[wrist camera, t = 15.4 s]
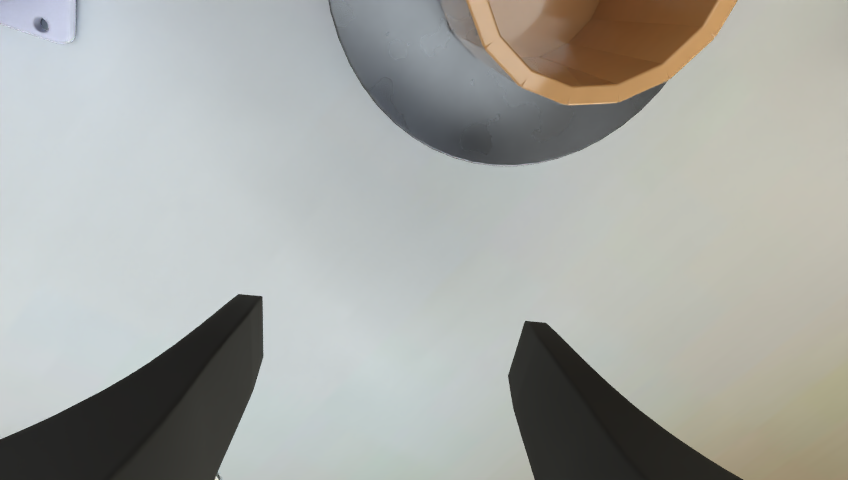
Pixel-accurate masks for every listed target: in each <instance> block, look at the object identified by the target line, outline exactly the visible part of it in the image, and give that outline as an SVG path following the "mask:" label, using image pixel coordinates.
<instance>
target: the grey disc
mask: <svg viewBox="0 0 848 480" xmlns="http://www.w3.org/2000/svg"><path fill="white" fill-rule="evenodd" d="M329 6H330V11H331V15H332V18H333V21H334V25H335V28H336V31H337V35H338V38H339V41H340V43H341V45H342V47H343V50H344V52H345V54H346V57H347V59H348V61H349V64H350V65H351V67H352V69H353V71H354V72H355V74H356V76H357V77H358V79H359V81H360V82H361V84H362V86H363V87H364V89H365V90H366V91H367V93H368V94H369V95H370V97H371V98H372V99H373V100H374V102H375V103H376V104H377V106H378V107H379V108H380V109H381V110H382V111H383V112H384V113H385V114H386V115H387V116H388V117H389V118H390V119H391V120H392V121H393V122H394V123H395V124H396V125H398V126H399V127H400V128H401V129H403V130H404V131H405V132H407V133H408V134H409V135H410V136H412V137H413V138H415V139H416V140H418V141H420V142H422V143H423V144H425V145H427V146H428V147H430V148H432V149H434V150H436V151H439V152H441V153H443V154H446V155H448V156H450V157H453V158H457V159H460V160H464V161H468V162H471V163H477V164H484V165H492V166H520V165H529V164H537V163H541V162H546V161H550V160H554V159H558V158H561V157H564V156H566V155H569V154H572V153H574V152H577V151H580V150H582V149H584V148H586V147H588V146H590V145H592V144H593V143H595V142H597V141H599V140H601V139H603V138H604V137H606V136H607V135H609V134H610V133H612V132H613V131H615V130H616V129H618V128H619V127H621V126H622V125H624V124H625V123H626V122H627V121H628V120H630V119H631V118H632V117H633V116H634V115H636V114H637V113H638V112H639V111H640V110H642V108H643V107H644V106H645V105H646V104H647V103H648V102H649V101H650V100H651V99H652V98H653V97H654V96H655V95H656V94H657V93H658V92H659V91H660V90H661V89H662V87H663V86H664V85H665V84H666V82H667V81H668V80H669V79H668V80H667V81H666V82H663V83H661V84H659V85H657V86H655V87H652V88H650V89H648V90H646V91H644V92H641V93H639V94H637V95H635V96H632V97H630V98H628V99H626V100H624V101H621V102H617V103H612V104H592V105H572V106H568V105H563V104H561V103H558V102H556V101H553V100H550V99H548V98H545V97H543V96H540V95H538V94H535V93H533V92H530V91H528V90H525V89H523V88H521V87H519V86H518V85H516V84H515V83H513V82H512V81H510V80H509V79H507V78H506V77H504V76H503V75H501V74H500V73H498V72H497V71H495V70H494V69H492V68H491V67H489V66H488V65H486V64H485V63H483V62H482V61H480V60H479V59H478V58H476V57H475V56H474V55H473V54H472V53H471V52H470V51H469V50H468V49H467V48H466V47H465V46H464V45H463V44H462V43H461V42H460V40H459V39H458V38H457V37H456V36H455V35H454V33H453V32H452V30H451V28H450V26H449V24H448V22H447V19H446V17H445V15H444V12H443V9H442V6H441V2H440V0H329Z"/></svg>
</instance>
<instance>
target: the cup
mask: <svg viewBox="0 0 848 480" xmlns="http://www.w3.org/2000/svg"><path fill="white" fill-rule="evenodd" d="M440 2H441V6H442V9H443V12H444V15H445V17H446V19H447V22H448V24H449V26H450V28H451V30H452V32H453V33H454V35H455V36H456V37H457V38H458V39H459V40H460V42H461V43H462V44H463V45H464V46H465V47H466V48H467V49H468V50H469V51H470V52H471V53H472V54H473V55H474V56H475V57H476V58H478V59H479V60H480V61H482V62H483V63H485V64H486V65H488V66H489V67H491V68H492V69H494V70H495V71H497V72H498V73H500V74H501V75H503V76H504V77H506V78H507V79H509V80H510V81H512V82H513V83H515V84H516V85H518V86H519V87H521V88H523V89H525V90H528V91H530V92H533V93H535V94H538V95H540V96H543V97H545V98H548V99H550V100H553V101H556V102H558V103H561V104H563V105H568V106H572V105H592V104H612V103H617V102H621V101H624V100H626V99H628V98H630V97H632V96H635V95H637V94H639V93H641V92H644V91H646V90H648V89H650V88H652V87H655V86H657V85H659V84H661V83H663V82H666V81H667V80H668V79H670V78H672V77H673V76H674V75H675V74H676V73H677V72H678V71H679V70H681V69H682V68H683V67H684V66H685V65H686V64H687V63H688V62H689V61H690V60H691V59H693V58H694V57H695V56H696V55H697V54H698V53H699V52H700V51H701V50H702V49H703V48H705V47H706V46H707V45H708V44H709V43H710V42H711V41H712V40H713V39H714V37H715V36H716V35H717V34H718V32H719V31H720V29H721V27H722V26H723V24H724V22H725V21H726V19H727V17H728V16H729V14H730V12H731V11H732V9H733V7H734V6H735V4H736V2H737V0H440Z"/></svg>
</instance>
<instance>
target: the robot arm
mask: <svg viewBox="0 0 848 480" xmlns="http://www.w3.org/2000/svg"><path fill="white" fill-rule="evenodd" d="M41 18H43V19H44V20H45V21H46V22H47V23H48V27H49V28H48V31H46V30H45V29H44V28H43V27H42V26H41V22H40V21H41ZM0 24H1V25H4V26H7V27H10V28H13V29H16V30H19V31H22V32H25V33H28V34H31V35H34V36H37V37H40V38H43V39H46V40H49V41H52V42H55V43H59V44H65V43H70V42H72V41H73V40H74V38H75V33H76V0H0ZM262 359H263V307H262V296H252V295H242V294H238V295H237V296H236V297H234V298H233V299H232V300H230V301H229V302H228V303H227V304H225V305H224V306H223V307H222V308H221V309H219V310H218V311H217V312H216V313H215V314H213V315H212V316H211V317H210V318H208V319H207V320H206V321H205V322H203V323H202V324H201V325H200V326H198V327H197V328H196V329H194V330H193V331H192V332H191V333H189V334H188V335H187V336H185V337H184V338H183V339H182V340H180V341H179V342H178V343H176V344H175V345H173V346H172V347H171V348H169V349H168V350H166V351H165V352H164V353H162V354H161V355H159V356H158V357H156V358H155V359H154V360H152V361H151V362H149V363H148V364H146V365H145V366H143V367H142V368H140V369H138V370H137V371H135V372H134V373H132V374H130V375H129V376H127V377H125V378H124V379H122V380H120V381H119V382H117V383H115V384H113V385H112V386H110V387H108V388H107V389H105V390H103V391H101V392H99V393H97V394H95V395H93V396H92V397H90V398H88V399H86V400H84V401H82V402H80V403H78V404H76V405H74V406H72V407H70V408H68V409H66V410H64V411H62V412H60V413H58V414H56V415H54V416H52V417H50V418H48V419H46V420H44V421H41V422H39V423H37V424H35V425H33V426H30V427H28V428H26V429H24V430H21V431H19V432H17V433H14V434H12V435H10V436H7V437H5V438H3V439H0V480H215V477H216V475H217V472H218V470H219V467H220V465H221V463H222V461H223V458H224V456H225V454H226V451H227V449H228V447H229V445H230V442H231V440H232V438H233V436H234V433H235V431H236V429H237V427H238V424H239V422H240V420H241V417H242V415H243V413H244V411H245V408H246V406H247V404H248V401H249V399H250V397H251V394H252V392H253V389H254V386H255V383H256V379H257V376H258V373H259V369H260V366H261V362H262ZM508 378H509V384H510V391H511V397H512V403H513V408H514V412H515V416H516V419H517V423H518V426H519V429H520V433H521V436H522V439H523V443H524V446H525V449H526V452H527V456H528V459H529V462H530V465H531V469H532V472H533V475H534V478H535V480H743V479H741V478H739V477H738V476H736V475H734V474H732V473H731V472H729V471H727V470H725V469H724V468H722V467H721V466H719V465H717V464H716V463H714V462H712V461H711V460H709V459H708V458H706V457H704V456H703V455H701V454H700V453H698V452H697V451H695V450H694V449H692V448H691V447H689V446H688V445H686V444H685V443H683V442H682V441H680V440H679V439H678V438H676V437H675V436H673V435H672V434H670V433H669V432H668V431H666V430H665V429H664V428H662V427H661V426H660V425H658V424H657V423H656V422H654V421H653V420H652V419H650V418H649V417H648V416H647V415H645V414H644V413H643V412H641V411H640V410H639V409H638V408H636V407H635V406H634V405H633V404H631V403H630V402H629V401H628V400H627V399H626V398H625V397H623V396H622V395H621V394H620V393H619V392H618V391H616V390H615V389H614V388H613V387H612V386H611V385H610V384H609V383H608V382H606V381H605V380H604V379H603V378H602V377H601V376H600V375H599V374H598V373H597V372H596V371H595V370H594V369H593V368H592V367H591V366H589V365H588V364H587V363H586V362H585V361H584V360H583V359H582V358H581V357H580V356H579V355H578V354H577V353H576V352H575V351H574V350H573V349H572V348H571V347H570V346H569V345H568V344H567V343H566V342H565V341H564V340H563V339H562V338H561V337H560V336H559V335H558V334H557V333H556V332H555V331H554V330H553V329H552V328H551V327H550V326H549V325H548V324H547V323H541V322H530V321H525V323H524V326H523V330H522V333H521V336H520V339H519V342H518V346H517V349H516V352H515V355H514V359H513V362H512V365H511V368H510V372H509V375H508Z"/></svg>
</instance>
